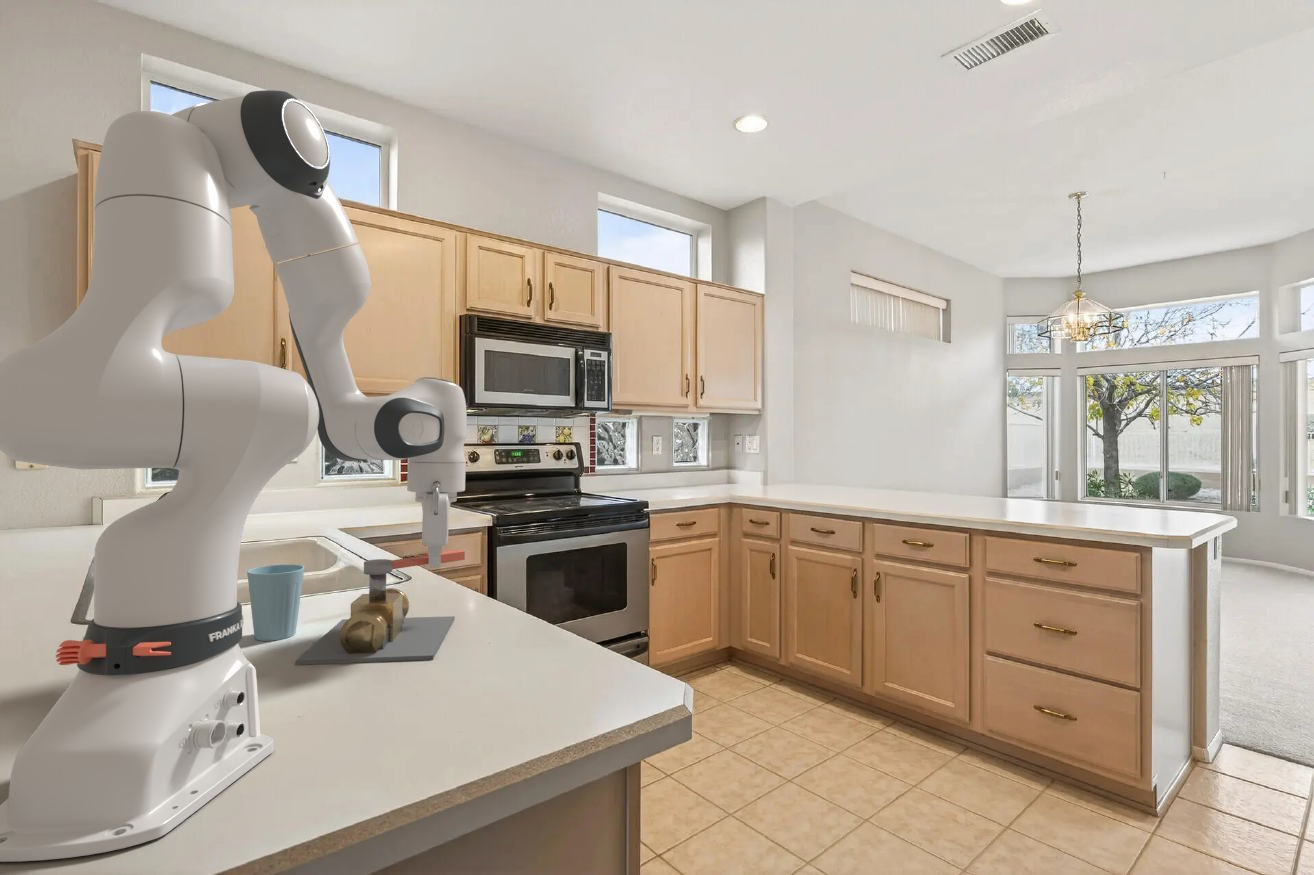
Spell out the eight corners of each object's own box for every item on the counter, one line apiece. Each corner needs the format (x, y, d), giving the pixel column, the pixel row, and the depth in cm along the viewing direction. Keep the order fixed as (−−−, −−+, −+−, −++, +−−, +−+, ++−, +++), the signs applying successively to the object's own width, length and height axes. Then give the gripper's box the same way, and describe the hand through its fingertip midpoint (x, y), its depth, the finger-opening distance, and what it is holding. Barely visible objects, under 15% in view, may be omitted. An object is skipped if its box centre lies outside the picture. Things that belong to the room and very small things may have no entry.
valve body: (384, 656, 93) (385, 585, 93) (339, 658, 92) (340, 586, 92) (409, 624, 108) (409, 563, 108) (370, 625, 107) (371, 564, 107)
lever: (371, 576, 97) (371, 565, 97) (358, 572, 100) (358, 561, 100) (467, 561, 110) (467, 551, 110) (453, 557, 112) (453, 548, 112)
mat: (432, 659, 92) (433, 655, 92) (295, 664, 89) (295, 660, 89) (454, 619, 111) (454, 616, 111) (342, 623, 109) (342, 619, 109)
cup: (306, 638, 100) (307, 570, 100) (247, 646, 96) (248, 575, 96) (300, 626, 107) (301, 562, 107) (245, 633, 102) (246, 567, 102)
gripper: (459, 484, 96) (456, 578, 96) (455, 477, 115) (453, 555, 115) (413, 484, 94) (410, 580, 94) (417, 477, 113) (415, 556, 113)
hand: (434, 566), depth 105 cm, fingers closed
